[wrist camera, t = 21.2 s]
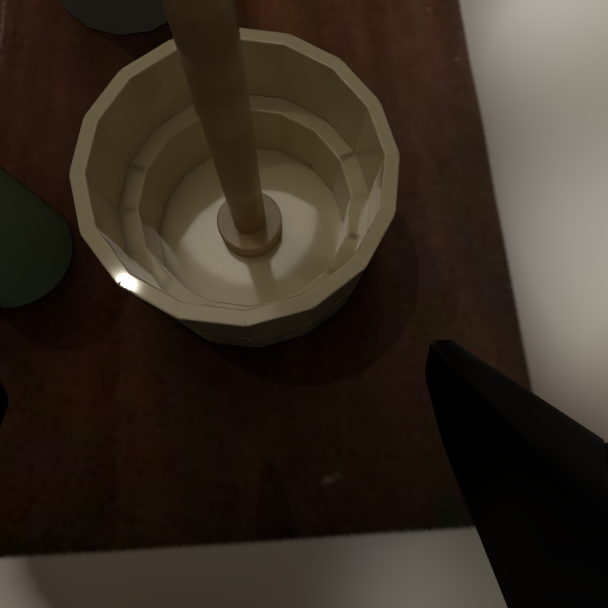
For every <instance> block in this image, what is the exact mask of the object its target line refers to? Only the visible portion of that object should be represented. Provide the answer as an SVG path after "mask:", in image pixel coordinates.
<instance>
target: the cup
mask: <svg viewBox="0 0 608 608" xmlns="http://www.w3.org/2000/svg"><path fill="white" fill-rule="evenodd" d="M61 1H62V2H63V4H64V6H65V8H66V9H67V10H68V11H69V12H70V13H71V14H73V15H74V16H75V17H76V18H78V19H79V20H80V21H81V22H82V23H84V24H85V25H86V26H87V27H89V28H93V29H96V30H100V31H104V32H108V33H112V34H116V35H124V34H132V33H140V32H147V31H152V30H154V29H155V28H157V27H159V26H161V25H163V24H164V23H166V22H168V20H167V17H166V14H165V11H164V8H163V4H162V1H161V0H61Z"/></svg>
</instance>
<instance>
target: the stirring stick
mask: <svg viewBox="0 0 608 608" xmlns="http://www.w3.org/2000/svg"><path fill="white" fill-rule="evenodd" d="M161 1H162V4H163V8H164V11H165V14H166V17H167V20H168V23H169V26H170V29H171V32H172V35H173V38H174V41H175V45H176V48H177V51H178V54H179V57H180V60H181V63H182V66H183V69H184V72H185V75H186V78H187V82H188V85H189V88H190V91H191V94H192V97H193V100H194V103H195V106H196V109H197V112H198V115H199V119H200V122H201V125H202V128H203V131H204V134H205V137H206V140H207V143H208V146H209V149H210V152H211V156H212V159H213V162H214V165H215V168H216V171H217V174H218V177H219V180H220V183H221V186H222V189H223V192H224V196H225V199H226V200H225V201H224V203H223V204H222V205H221V207H220V209H219V212H218V215H217V226H218V230H219V232H220V235H221V237H222V239H223V241H224V243H225V245H226V246H227V247H228V248H229V249H230V250H231V251H232V252H234V253H236V254H238V255H240V256H244V257H257V256H261V255H264V254H266V253H268V252H269V251H271V250H272V249H273V248H274V247H275V246H276V244H277V243H278V241H279V239H280V237H281V233H282V218H281V212H280V209H279V207H278V205H277V204H276V202H275V201H274V200H273V199H272V198H271V197H269V196H268V195H266V194H264V193H262V190H261V182H260V175H259V168H258V161H257V153H256V146H255V139H254V132H253V124H252V117H251V110H250V102H249V95H248V88H247V81H246V73H245V66H244V59H243V52H242V44H241V37H240V30H239V23H238V15H237V8H236V1H235V0H161Z"/></svg>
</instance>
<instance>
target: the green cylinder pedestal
mask: <svg viewBox="0 0 608 608" xmlns="http://www.w3.org/2000/svg"><path fill="white" fill-rule="evenodd" d="M72 247H73V243H72V236H71V232H70V229H69V227H68V224H67V223H66V221H65V219H64V218H63V217H62V216H61V214H60V213H59V212H58V211H56V210H55V209H54V208H53V207H52V206H50V205H49V204H48V203H47V202H45V201H44V200H43V199H42V198H40V197H39V196H38V195H37V194H35V193H34V192H33V191H32V190H30V189H29V188H28V187H27V186H26V185H24V184H23V183H22V182H21V181H19V180H18V179H17V178H16V177H14V176H13V175H12V174H11V173H9V172H8V171H7V170H6V169H4V168H3V167H2V166H1V165H0V308H10V307H18V306H22V305H25V304H29V303H31V302H33V301H36V300H38V299H39V298H41V297H43V296H44V295H46V294H47V293H48V292H50V291H51V290H52V289H53V288H54V287H55V286H56V285H57V284H58V283H59V281H60V280H61V279H62V277H63V276H64V274H65V273H66V271H67V268H68V266H69V263H70V260H71V256H72Z"/></svg>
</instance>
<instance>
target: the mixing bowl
mask: <svg viewBox="0 0 608 608" xmlns="http://www.w3.org/2000/svg"><path fill="white" fill-rule="evenodd" d="M239 30H240V37H241V44H242V52H243V59H244V66H245V73H246V81H247V88H248V95H249V102H250V110H251V117H252V124H253V132H254V139H255V146H256V153H257V161H258V168H259V175H260V182H261V190H262V193H264V194H266V195H268V196H269V197H271V198H272V199H273V200H274V201H275V202H276V204H277V205H278V207H279V209H280V212H281V218H282V233H281V237H280V239H279V241H278V243H277V244H276V246H275V247H274V248H273V249H272V250H271V251H269V252H268V253H266V254H264V255H261V256H257V257H244V256H240V255H238V254H236V253H234V252H232V251H231V250H230V249H229V248H228V247H227V246H226V245H225V243H224V241H223V239H222V237H221V235H220V232H219V230H218V226H217V215H218V212H219V209H220V207H221V205H222V204H223V203H224V201H225V200H226V199H225V196H224V192H223V189H222V186H221V183H220V180H219V177H218V174H217V171H216V168H215V165H214V162H213V159H212V156H211V152H210V149H209V146H208V143H207V140H206V137H205V134H204V131H203V128H202V125H201V122H200V119H199V115H198V112H197V109H196V106H195V103H194V100H193V97H192V94H191V91H190V88H189V85H188V82H187V78H186V75H185V72H184V69H183V66H182V63H181V60H180V57H179V54H178V51H177V48H176V45H175V41H174V38H173V39H172V40H168V41H167V42H165V43H163V44H162V45H160V46H158V47H157V48H155V49H154V50H152V51H150V52H149V53H147V54H145V55H144V56H142V57H140V58H139V59H137V60H135V61H134V62H132V63H130V64H129V65H127V66H126V67H124V68H122V69H121V71H119V72H118V73H117V74H116V76H115V77H114V78H113V80H112V81H111V82H110V83H109V85H108V86H107V87H106V89H105V90H104V91H103V92H102V94H101V95H100V96H99V98H98V99H97V100H96V102H95V103H94V104H93V105H92V107H91V108H90V109H89V111H88V112H87V113H86V114H85V117H84V118H83V122H82V126H81V129H80V133H79V137H78V141H77V145H76V149H75V153H74V157H73V160H72V164H71V168H70V175H69V177H70V182H71V187H72V193H73V198H74V203H75V209H76V214H77V219H78V224H79V230H80V233H81V236H82V237H83V239H84V240H85V241H86V243H87V244H88V245H89V247H90V248H91V250H92V251H93V252H94V254H95V255H96V256H97V258H98V259H99V260H100V262H101V263H102V265H103V266H104V267H105V269H106V270H107V271H108V273H109V274H110V276H111V277H112V278H113V280H114V281H115V282H116V284H117V285H119V286H120V287H121V288H122V289H124V290H126V291H127V292H129V293H130V294H132V295H133V296H135V297H136V298H138V299H139V300H141V301H142V302H144V303H145V304H147V305H148V306H150V307H151V308H153V309H155V310H156V311H158V312H159V313H161V314H162V315H164V316H165V317H167V318H168V319H170V320H172V321H173V322H175V323H177V324H179V325H181V326H182V327H184V328H186V329H188V330H189V331H191V332H193V333H195V334H196V335H198V336H200V337H202V338H203V339H205V340H207V341H209V342H213V343H222V344H230V345H238V346H247V347H255V348H258V347H264V346H268V345H271V344H275V343H279V342H282V341H286V340H289V339H293V338H296V337H300V336H304V335H306V334H308V333H310V332H311V331H312V330H313V329H315V328H316V327H317V326H318V325H320V324H321V323H322V322H324V321H325V320H326V319H327V318H329V317H330V316H331V315H333V314H334V313H335V312H336V311H338V310H339V309H340V308H341V307H343V306H344V304H345V303H346V302H347V300H348V298H349V296H350V295H351V293H352V291H353V289H354V288H355V286H356V284H357V283H358V281H359V279H360V277H361V276H362V274H363V272H364V271H365V269H366V267H367V265H368V263H369V262H370V260H371V258H372V256H373V254H374V253H375V251H376V249H377V247H378V245H379V243H380V242H381V240H382V238H383V236H384V234H385V232H386V231H387V229H388V227H389V225H390V223H391V221H392V220H393V218H394V216H395V212H396V201H397V188H398V174H399V160H400V157H399V152H398V149H397V146H396V144H395V141H394V138H393V135H392V133H391V130H390V127H389V124H388V122H387V119H386V116H385V114H384V111H383V108H382V105H381V103H380V102H379V100H378V99H377V98H376V97H375V95H374V94H373V93H372V92H371V91H370V90H369V89H368V88H367V87H366V86H365V85H364V84H363V83H362V81H361V80H360V79H359V78H358V77H357V76H356V75H355V74H354V73H353V72H352V71H351V70H350V69H349V67H348V66H347V65H346V64H345V63H344V62H343V61H342V60H341V59H340V58H338V57H336V56H334V55H332V54H330V53H328V52H326V51H324V50H322V49H319V48H317V47H315V46H313V45H311V44H309V43H307V42H305V41H303V40H301V39H299V38H297V37H295V36H293V35H291V34H289V35H288V34H287V33H279V32H271V31H263V30H255V29H246V28H239Z"/></svg>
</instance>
